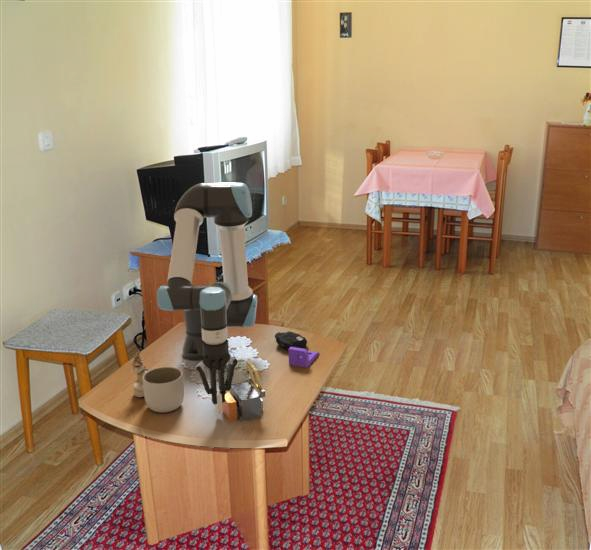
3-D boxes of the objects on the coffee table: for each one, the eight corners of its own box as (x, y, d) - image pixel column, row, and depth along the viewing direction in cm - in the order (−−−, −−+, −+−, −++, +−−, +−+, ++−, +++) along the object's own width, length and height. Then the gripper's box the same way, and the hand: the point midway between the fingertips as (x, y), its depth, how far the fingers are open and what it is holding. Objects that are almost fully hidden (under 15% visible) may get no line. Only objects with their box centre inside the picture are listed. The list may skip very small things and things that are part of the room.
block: (231, 405, 206) (230, 381, 204) (253, 400, 209) (252, 376, 206) (242, 421, 197) (241, 395, 194) (266, 415, 199) (265, 390, 197)
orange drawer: (257, 403, 207) (256, 386, 206) (265, 413, 201) (264, 395, 199) (222, 411, 203) (221, 393, 201) (229, 421, 197) (228, 403, 195)
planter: (149, 419, 199) (146, 387, 196) (141, 402, 210) (138, 371, 207) (189, 411, 203) (187, 379, 200) (180, 394, 214) (177, 363, 211)
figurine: (160, 396, 213) (156, 353, 209) (137, 401, 210) (133, 358, 206) (153, 387, 219) (149, 346, 215) (131, 392, 216) (127, 350, 212)
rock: (295, 339, 254) (295, 325, 252) (309, 348, 248) (309, 334, 245) (273, 346, 249) (273, 332, 247) (287, 355, 242) (287, 341, 240)
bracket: (306, 369, 231) (306, 351, 229) (288, 366, 234) (288, 348, 232) (319, 356, 241) (319, 339, 239) (302, 353, 244) (301, 336, 242)
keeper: (251, 382, 205) (245, 360, 202) (254, 381, 206) (248, 359, 203) (260, 393, 198) (254, 371, 195) (263, 392, 199) (257, 369, 196)
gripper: (196, 348, 186) (201, 422, 193) (240, 340, 191) (243, 413, 198) (190, 339, 193) (195, 411, 200) (232, 332, 198) (235, 402, 204)
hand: (219, 412), depth 199 cm, fingers closed
